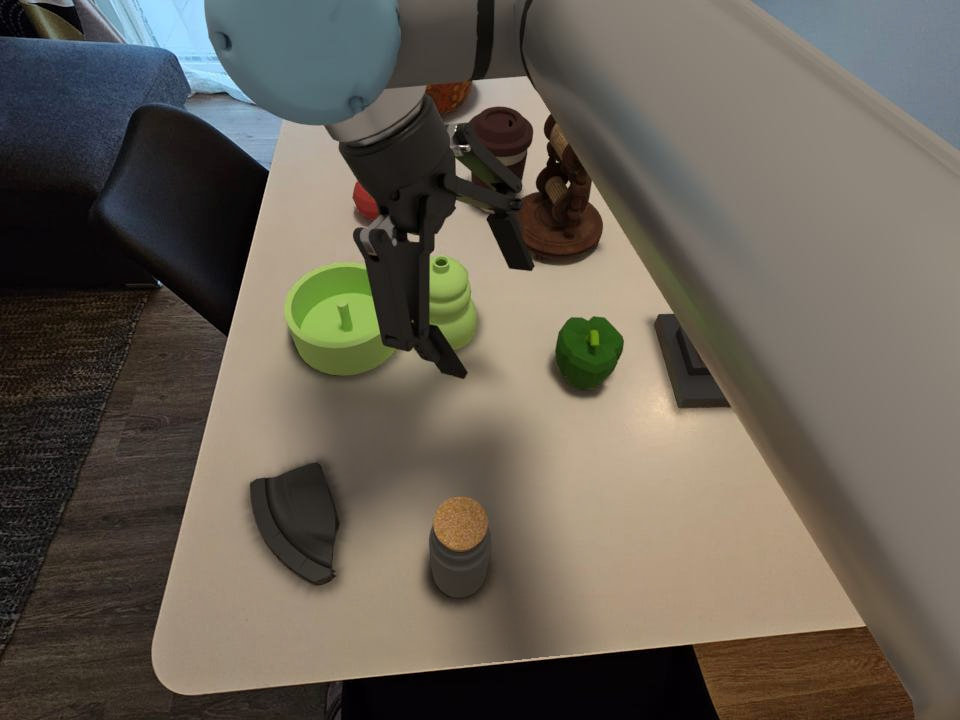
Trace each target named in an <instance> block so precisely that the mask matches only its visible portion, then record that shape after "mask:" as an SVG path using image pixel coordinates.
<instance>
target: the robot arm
mask: <svg viewBox="0 0 960 720" xmlns="http://www.w3.org/2000/svg"><path fill="white" fill-rule="evenodd" d="M203 5H204V6H203V8H204V18H205V24H206V28H207V36H208V39H209V42H210V44H211V46H212V48H213V51H214V53H215V55H216V57H217V59H218V61H219V63H220V65H221V66H222V68H223V70H224V71H225V73H226V74H227V75H228V77H229V78H230V80H231V81H232V82H233V83H234V84H235V86H236V87H237V88H238V89H239V91H241V92H242V93H243V94H244V95H245V96H246V97H247V98H248V99H249V100H250V101H252V102H253V103H254V104H255V105H257V106H258V107H259V108H261V109H263V110H264V111H266V112H267V113H270V114H271V115H273V116H275V117H277V118H280V119H282V120H285V121H288V122H291V123H295V124H299V125H306V126H318V127H320V126H321V127H322V126H323V127H324V128H325V130H326V132H327V133H328V135H329V137H330V138H331V139H332V140H334V141H335V142H337V143H338V151H339V153H340V155H341V157H342V159H343V160H344V161H345V163H346V165H347V166H348V168H349V169H350V171H351V172H352V174H353V176H354V177H355V179H356V181H358V182H359V184H360V185H361V186H362V187H363V188H364V189H365V190H366V191H367V192H368V193H369V194H370V195H371V196H372V197H373V199H374V200H375V202H376V205H377V209H378V215H379V217H378V218H377V219H375V220H372V222H371V223H370V224H369V225H368V226H367V227H361V226H360V227H359V226H358V227H356V228H354V230H353V233H352V240H353V242H354V243H355V246H356V247H357V248H358V251H359V252H360V254H361V256H362V258H363V259H364V260H363V261H364V264H365V265H366V270H367V274H368V279H369V284H370V288H371V293H372V298H373V302H374V307H375V312H376V316H377V321H378V326H379V330H380V335H381V340H382V343H383V345H384V346H387V347H391V348H395V349H396V350H398V351H403V352H411V351H413V349H414V351H415V352H416V353H417V354H418V356H419V357H420V359H421V360H423V361H426V362H431V363H432V364H434V366H435V367H436V368H437V369H438V371H439V372H440V374H442V375H447V376H450V377H453V378H454V377H455V378H458V379H462V380H465V378H466V377H467V375H468V374H469V371H468V370H467V368H466V367H465V365H464V364H463V363H462V361H461V360H460V358H459V356H458V355H457V353H456V352H455V351H454V350H453V349H452V347H451V346H450V344H449V342H448V341H447V339H446V338H445V336H444V335H443V333H442V332H441V330H440V329H439V327H438V326H436V325H431V324H429V310H430V258H431V257H430V256H431V254H432V253H433V252H434V251H435V245H436V244H435V243H436V242H435V240H436V235H438V233H439V232H440V231H441V230H442V228H443V225H444V223H445V221H446V220H447V219H448V218H449V217H451V215H453V213H454V212H455V210H457V207H456V203H457V202H461V203H463V204H467V205H470V206H474V207H477V208H479V207H480V208H484V209H487V210H490V211H494V213H495V214H494V213H489V214H488V216H487V217H486V218H485V220H486V222H487V224H488V226H489V228H490V231H491V233H492V235H493V237H494V240H495V241H496V244H497V246H498V248H499V250H500V252H501V254H502V256H503V259H504V261H505V263H506V265H507V268H508V269H509V270H517V271H526V272H533V270H534V268H535V267H536V266H535V263H534V260H533V258H532V255H531V252H530V251H528V248H527V246H526V243H525V241H524V239H523V236H522V234H523V230H522V226H521V224H520V221H519V219H518V216H517V214H516V212H520V211H521V210H522V208H523V201H522V198H521V197H517V198H515V195H516V193H518V194H520V193H521V192H522V190H523V180H522V181H521V180H520V179H519V178H518V177H517V176H516V175H515V174H514V173H513V172H511V171H510V170H509V169H508V168H507V167H506V166H505V165H504V164H503V163H502V162H501V161H500V160H499V159H498V158H496V157H495V156H494V155H493V154H492V153H491V152H490V151H489V150H488V149H487V148H486V147H485V146H484V145H483V144H481V143H480V141H479V139H478V137H477V135H476V134H475V132H474V130H473V128H472V126H471V125H470V123H469V122H456V123H445V122H444V120H443V118H442V117H441V114H439V112H438V110H437V108H436V105H435V103H434V101H433V99H432V97H431V96H429V95H427V94H425V90H426V86H427V85H435V84H445V83H456V82H466V81H472V82H474V81H480V80H481V81H483V80H494V79H495V80H496V79H509V78H520V77H526V78H527V79H528V81H529V83H530V84H531V86H532V87H533V89H534V90H535V92H536V93H537V94H538V96H539V97H540V99H541V100H542V102H543V104H544V105H545V107H546V108H547V110H548V111H549V114H551V115H552V116H553V118H554V120H555V121H556V123H557V124H558V126H559V128H560V129H561V131H562V133H563V134H564V136H565V137H566V139H567V141H568V142H569V144H570V146H571V147H572V149H573V150H574V152H575V154H576V155H577V157H578V159H579V160H580V162H581V163H582V165H583V167H584V168H585V170H586V172H587V173H588V175H589V176H590V178H591V180H592V184H593V185H594V186H595V188H596V189H597V191H598V193H599V194H600V196H601V198H602V199H603V201H604V203H605V204H606V206H607V208H608V209H609V210H610V212H611V214H612V215H613V217H614V219H615V220H616V222H617V224H618V225H619V227H620V228H621V230H622V232H623V234H624V235H625V236H626V238H627V240H628V242H629V243H630V244H631V246H632V248H633V250H634V251H635V254H637V257H638V258H639V259H640V261H641V262H642V265H643V266H644V268H645V269H646V272H647V273H648V274H649V276H650V277H651V279H652V280H653V283H654V284H655V285H656V287H657V288H658V290H659V292H660V294H661V295H662V296H663V298H664V300H665V301H666V303H667V305H668V307H669V308H670V310H671V311H672V314H674V315H675V316H676V318H677V319H678V321H679V323H680V324H681V326H682V328H683V329H684V331H685V332H686V334H687V336H688V337H689V339H690V341H691V342H692V344H693V345H694V347H695V349H696V350H697V352H698V354H699V355H700V357H701V358H702V360H703V362H704V363H705V365H706V366H707V368H708V370H709V371H710V373H711V375H712V376H713V378H714V379H715V381H716V383H717V384H718V386H719V388H720V389H721V391H722V392H723V394H724V396H725V397H726V399H727V401H728V402H729V404H730V405H731V406H730V407H731V409H732V410H733V412H734V414H735V415H736V417H737V418H738V421H739V422H740V423H741V425H742V427H743V429H744V430H745V431H746V433H747V435H748V436H749V438H750V439H751V441H752V443H753V445H754V446H755V448H756V450H757V451H758V453H759V455H760V456H761V457H762V459H763V460H764V462H765V464H766V465H767V467H768V469H769V470H770V472H771V474H772V475H773V477H774V479H775V480H776V482H777V483H778V485H779V488H780V489H781V491H782V492H783V494H784V495H785V496H786V498H787V500H788V501H789V503H790V505H791V506H792V508H793V510H794V511H795V513H796V514H797V516H798V518H799V519H800V521H801V523H802V524H803V527H805V529H806V531H807V532H808V534H809V536H810V537H811V539H812V540H813V542H814V543H815V545H816V547H817V549H818V551H819V553H821V555H822V556H823V558H824V560H825V561H826V563H827V564H828V566H829V568H830V570H831V571H832V573H833V574H834V576H835V578H836V579H837V581H838V583H839V584H840V586H841V587H842V589H843V591H844V593H845V594H846V595H847V597H848V599H849V601H850V602H851V604H852V605H853V607H854V609H855V610H856V612H857V613H858V616H859V617H860V618H861V620H862V621H863V623H864V625H865V627H866V628H867V630H868V631H869V633H870V635H871V636H872V638H873V640H874V641H875V643H876V645H877V646H878V647H879V650H880V651H881V652H882V654H883V656H884V658H885V659H886V660H887V662H888V664H889V665H890V667H891V669H892V670H893V672H894V673H895V675H896V678H898V680H899V682H900V683H901V685H902V687H903V688H904V690H905V691H906V693H907V695H908V697H909V698H910V700H911V702H912V710H913V716H914V720H960V150H959V149H958V148H956V147H955V146H954V145H952V144H951V143H949V142H948V141H947V140H946V139H944V138H943V137H941V136H940V135H938V134H937V133H935V132H934V131H933V130H931V129H930V128H928V127H927V126H926V125H924V124H923V123H921V121H919V120H918V119H916V118H915V117H913V116H912V115H910V114H909V113H908V112H906V111H905V110H904V109H902V108H900V107H899V106H898V105H896V104H895V103H894V102H892V101H891V100H890V99H888V98H887V97H885V96H884V95H883V94H881V93H880V92H878V91H877V90H876V89H874V88H873V87H871V86H870V85H869V84H867V83H866V82H865V81H863V80H862V79H861V78H859V77H858V76H856V75H855V74H854V73H852V72H851V71H849V70H848V69H847V68H845V67H844V66H842V65H841V64H840V63H838V62H837V61H835V60H834V59H833V58H831V57H830V56H829V55H827V54H826V53H824V52H823V51H822V50H820V49H819V48H817V47H816V46H815V45H814V44H812V43H810V42H809V41H807V39H805V38H803V37H802V36H800V35H799V34H798V33H797V32H795V31H794V30H792V29H791V28H789V27H788V26H787V25H785V24H784V23H783V22H781V21H780V20H778V19H777V18H776V17H775V16H773V15H771V14H770V13H768V12H767V10H765V9H763V8H762V7H760V6H759V5H758V4H756V3H755V2H753V1H752V0H203ZM456 161H458V162H459V163H461V164H462V165H463V166H464V167H465V168H467V169H468V170H469V171H470V172H471V171H472V172H473V173H474V174H475V175H476V176H478V177H479V178H480V179H481V180H482V181H483V182H485V183H486V184H487V185H488V186H489V187H491V188H492V189H493V190H494V191H492V190H489V189H486V188H483V187H480V186H478V185H475V184H474V182H472V180H468V179H465V178H462V177H459V176H458V175H457V166H456V165H457V164H456V163H457V162H456ZM480 208H479V209H480ZM408 234H410V235H413V236H418V241H413V240H409V238H408V237H409V236H408ZM412 321H413V322H412Z"/></svg>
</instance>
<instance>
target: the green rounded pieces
mask: <svg viewBox="0 0 960 720" xmlns="http://www.w3.org/2000/svg"><path fill="white" fill-rule="evenodd" d="M471 296H472V286H471V282H470V280H469V272H468V271H467V268H466V267H465V266H464V265H463V264H462V263H461V262H460V261H459V260H457V259H456V258H453V257H450V256H447V255H443V254H439V255H436V256H433V257H430V310H429V324H431V325H436V326H438V327H439V329H440V330H441V332H442V333H443V335H444V336H445V338H446V339H447V341H448V342H449V344H450V346H451V347H452V349H453V350H454V352H455V351H457V350H461V349H462V348H463V347H465V346H467V345H468V344H469V343H470V342H471V341H472V340H473V338H474V336H475V334H476V331H477V322H478V321H477V320H478V317H477V316H478V315H477V307H476V305H475V302H474V300H473V299H472V297H471ZM283 312H284V319H285V322H286V324H287V327H288V329H289V332H290V335H291V337H292V340H293V342H294V345H295V347H296V350H297V352H298V354H299V356H300V357H301V358H302V360H303V361H304V362H305V363H306V364H307V365H309V366H310V367H311V368H312V369H314V370H317V371H319V372H321V373H324V374H328V375H332V376H341V377H343V376H355V375H358V374H363V373H366V372H369V371H372V370H374V369H376V368H377V367H379V366H380V365H382V364H383V363H385V362H386V361H387V360H388V359H390V357H392V356H393V354H394V352H396V350H397V349H395V348H391V347H387V346H384V345H383V343H382V340H381V335H380V330H379V326H378V321H377V316H376V312H375V307H374V302H373V298H372V293H371V288H370V284H369V279H368V274H367V270H366V265H365V263H361V262H351V261H348V262H345V261H344V262H335V263H330V264H326V265H323V266H320V267H317V268H315V269H312V271H308V273H305V274H304V275H303V276H301V277H300V278H299V279H298V280H297V281H296V282H295V283H294V285H293V286H292V287H291V288H290V290H289V292H288V293H287V295H286V298H285V300H284V307H283ZM412 322H413V321H412Z"/></svg>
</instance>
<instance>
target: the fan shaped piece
mask: <svg viewBox="0 0 960 720" xmlns="http://www.w3.org/2000/svg"><path fill="white" fill-rule="evenodd" d="M249 494H250V504H251V509H252V513H253V517H254V520H255V522H256V525H257V528H258V530H259V532H260V534H261V536H262V538H263V539H264V541H265V542H266V544H267V545H268V546H269V548H270V549H271V550H272V551H273V552H274V553H275V555H276V556H277V557H278V558H279V559H280V561H281V562H283V563H284V564H285V565H286V566H287V567H289V568H290V569H291V570H292V571H293V572H295V573H296V574H298V575H300V576H301V577H303V578H304V579H307V580H309V581H311V582H313V583H315V584H317V585H324V584H327V583H329V582H332V581H333V579H334V578H333V575H334V574H335V573H336V572H337V570H334V569H333V555H334V554H333V552H334V545H335V541H336V537H337V532H338V530H339V528H340V520H339V517H338V513H337V509H336V505H335V502H334V499H333V496H332V492H331V489H330V487H329V484H328V481H327V480H326V477H325V474H324V471H323V468H322V466H321V464H320V462H318V461H317V462H311V463H307V464H305V465H304V464H303V465H301V466H298V467H294V468H293V469H291V470H289V471H286V472H284V473H282V474H279V475H276V476H272V477H266V476H265V477H260V478H256V479H254V480H252V481H250V483H249Z"/></svg>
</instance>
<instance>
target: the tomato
mask: <svg viewBox="0 0 960 720" xmlns="http://www.w3.org/2000/svg"><path fill="white" fill-rule="evenodd" d="M352 200H353V202H354V204H355V207H356V209H357V211H358V213H359V214H360V215H362V216H363V217H365V218H367V219H368V220H370V221H374V220H375V219H377V218H378V217H379V215H378V209H377V205H376V202H375V200H374V199H373V197H372V196H371V195H370V194H369V193H368V192H367V191H366V190H365V189H364V188H363V187H362V186H361V185H360V184H359V182H358V180H356V182H355V184H354V188H353V192H352Z"/></svg>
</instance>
